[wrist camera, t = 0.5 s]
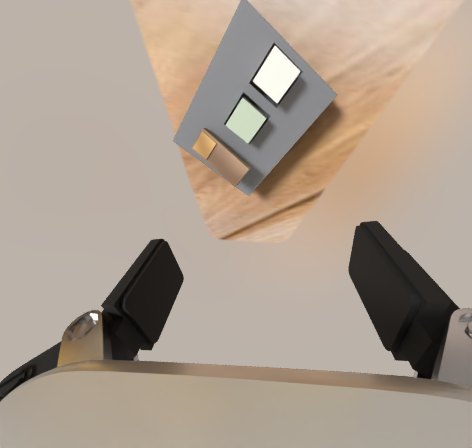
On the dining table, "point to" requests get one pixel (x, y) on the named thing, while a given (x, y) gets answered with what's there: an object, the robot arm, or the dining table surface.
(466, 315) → the robot arm
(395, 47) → the dining table surface
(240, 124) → the sage button
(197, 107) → the console
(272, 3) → the dining table surface
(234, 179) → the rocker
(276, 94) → the white button
